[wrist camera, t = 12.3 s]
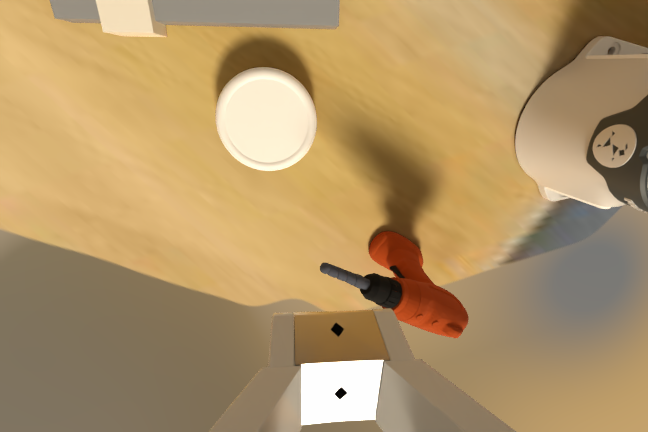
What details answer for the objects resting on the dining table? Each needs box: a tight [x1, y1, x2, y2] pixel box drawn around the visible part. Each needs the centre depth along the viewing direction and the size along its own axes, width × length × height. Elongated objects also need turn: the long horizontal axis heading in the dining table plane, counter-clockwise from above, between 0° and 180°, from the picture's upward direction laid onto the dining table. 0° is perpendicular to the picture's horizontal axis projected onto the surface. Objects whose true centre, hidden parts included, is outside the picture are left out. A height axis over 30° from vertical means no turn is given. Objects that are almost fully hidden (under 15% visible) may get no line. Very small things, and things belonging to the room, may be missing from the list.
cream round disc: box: [215, 67, 317, 171], centre depth 33 cm, size 10×10×4 cm
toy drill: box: [320, 231, 468, 338], centre depth 35 cm, size 5×19×15 cm, turn 58°
